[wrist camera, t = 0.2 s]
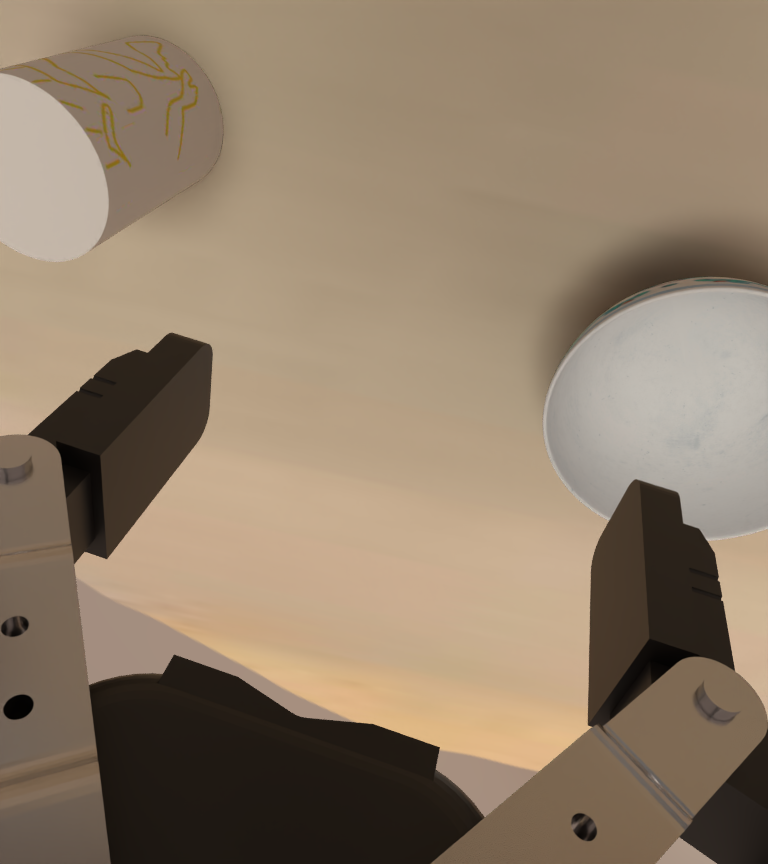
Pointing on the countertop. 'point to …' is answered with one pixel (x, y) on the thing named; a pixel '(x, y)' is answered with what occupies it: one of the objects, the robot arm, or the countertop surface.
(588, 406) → the chinaware
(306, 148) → the countertop surface
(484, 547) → the countertop surface
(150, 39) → the cup
